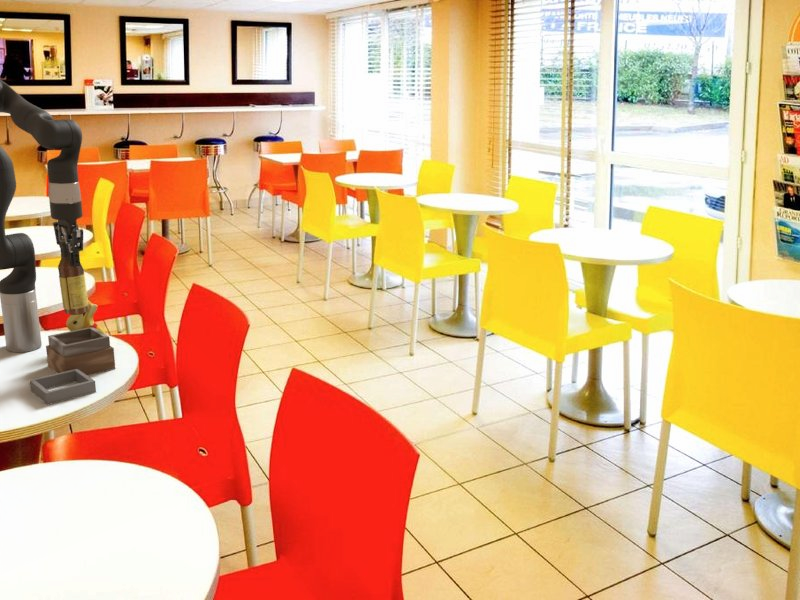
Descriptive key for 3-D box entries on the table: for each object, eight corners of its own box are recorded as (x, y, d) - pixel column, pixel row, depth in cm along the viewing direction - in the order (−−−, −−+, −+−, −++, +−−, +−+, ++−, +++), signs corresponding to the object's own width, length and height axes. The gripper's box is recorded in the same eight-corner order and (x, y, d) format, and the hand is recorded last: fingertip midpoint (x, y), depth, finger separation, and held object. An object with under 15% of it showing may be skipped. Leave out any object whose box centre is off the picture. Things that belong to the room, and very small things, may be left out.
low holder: (30, 391, 194) (29, 380, 193) (78, 379, 202) (77, 368, 201) (47, 404, 186) (46, 393, 185) (96, 392, 194) (95, 381, 193)
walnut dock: (48, 366, 209) (44, 335, 207) (95, 355, 218) (92, 325, 216) (67, 380, 201) (63, 348, 198) (115, 368, 209) (112, 337, 207)
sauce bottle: (93, 309, 208) (86, 237, 202) (81, 316, 202) (74, 242, 196) (70, 308, 208) (63, 236, 203) (58, 315, 202) (50, 241, 197)
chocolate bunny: (70, 347, 224) (65, 298, 220) (110, 345, 227) (105, 296, 223) (66, 355, 218) (61, 304, 214) (107, 353, 221) (103, 303, 216)
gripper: (39, 196, 199) (46, 260, 204) (61, 205, 189) (67, 272, 194) (69, 194, 204) (74, 257, 209) (91, 202, 194) (97, 267, 199)
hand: (71, 263), depth 201 cm, fingers closed on sauce bottle, 5 cm apart
